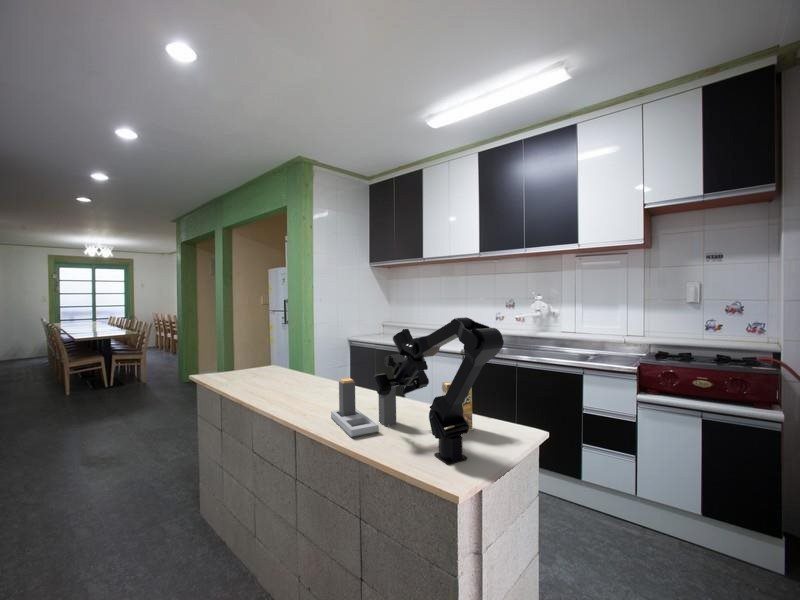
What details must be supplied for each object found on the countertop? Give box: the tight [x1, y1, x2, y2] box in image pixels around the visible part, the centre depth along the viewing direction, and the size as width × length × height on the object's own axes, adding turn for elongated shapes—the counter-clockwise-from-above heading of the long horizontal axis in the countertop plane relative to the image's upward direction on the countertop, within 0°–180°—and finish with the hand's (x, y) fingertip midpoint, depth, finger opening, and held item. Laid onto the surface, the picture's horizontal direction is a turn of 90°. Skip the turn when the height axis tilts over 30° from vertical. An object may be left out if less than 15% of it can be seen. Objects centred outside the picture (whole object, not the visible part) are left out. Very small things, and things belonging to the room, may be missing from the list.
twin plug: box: [338, 377, 357, 417], centre depth 127 cm, size 4×4×14 cm
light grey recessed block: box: [330, 408, 379, 439], centre depth 122 cm, size 22×9×2 cm, turn 27°
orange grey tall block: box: [378, 386, 397, 427], centre depth 123 cm, size 4×4×14 cm
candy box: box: [441, 381, 474, 431], centre depth 116 cm, size 9×4×15 cm, turn 107°
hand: (392, 395), depth 120 cm, fingers open, 9 cm apart
